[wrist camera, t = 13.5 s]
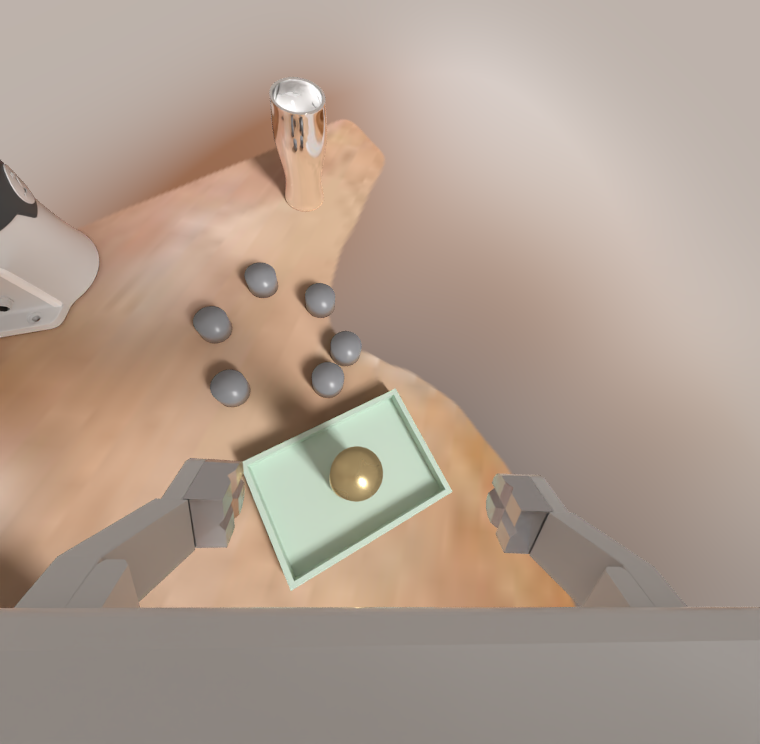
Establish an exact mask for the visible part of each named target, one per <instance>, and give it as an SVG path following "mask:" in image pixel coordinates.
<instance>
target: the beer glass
mask: <svg viewBox="0 0 760 744" xmlns="http://www.w3.org/2000/svg"><path fill="white" fill-rule="evenodd" d="M269 93H270V104H271V119H272V129H273V134H274V139H275V144H276V148H277V151H278V154H279V158H280V161H281V164H282V167H283V170H284V173H285V179H286V186H285V198H286V201H287V203H288V204H289V205H290V206H291V207H292V208H294V209H296V210H299V211H305V212H307V211H313V210H316V209H317V208H319V207H320V206H321V205H322V203H323V200H324V194H323V189H322V185H321V174H322V168H323V163H324V157H325V151H326V144H327V119H326V106H325V95H324V92H323V91H322V89H321V88H320V87H319V86H318V85H316V84H315V83H313V82H311V81H309V80H307V79H303V78H298V77H289V78H283V79H280V80H278V81H276V82H275V83H274V84H273V85H272V86H271V88H270V92H269Z"/></svg>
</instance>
